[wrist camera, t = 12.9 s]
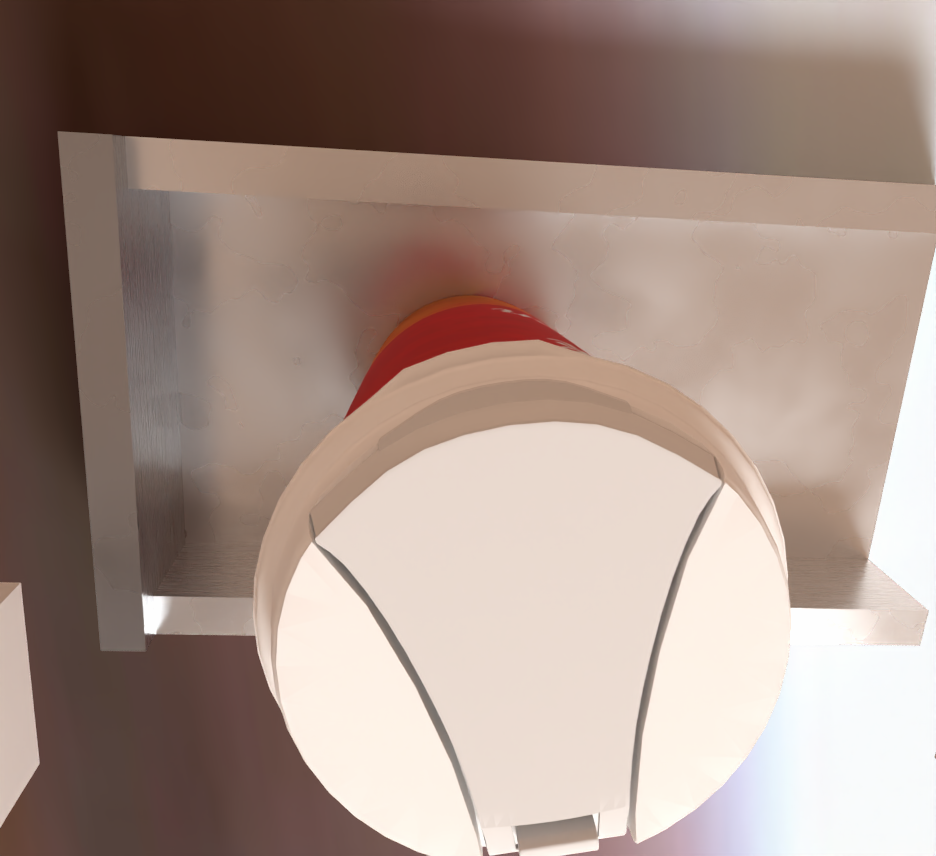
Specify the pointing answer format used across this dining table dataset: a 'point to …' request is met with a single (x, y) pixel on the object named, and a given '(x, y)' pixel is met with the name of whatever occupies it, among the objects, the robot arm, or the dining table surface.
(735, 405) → the channel
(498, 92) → the dining table surface
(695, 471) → the coffee cup
